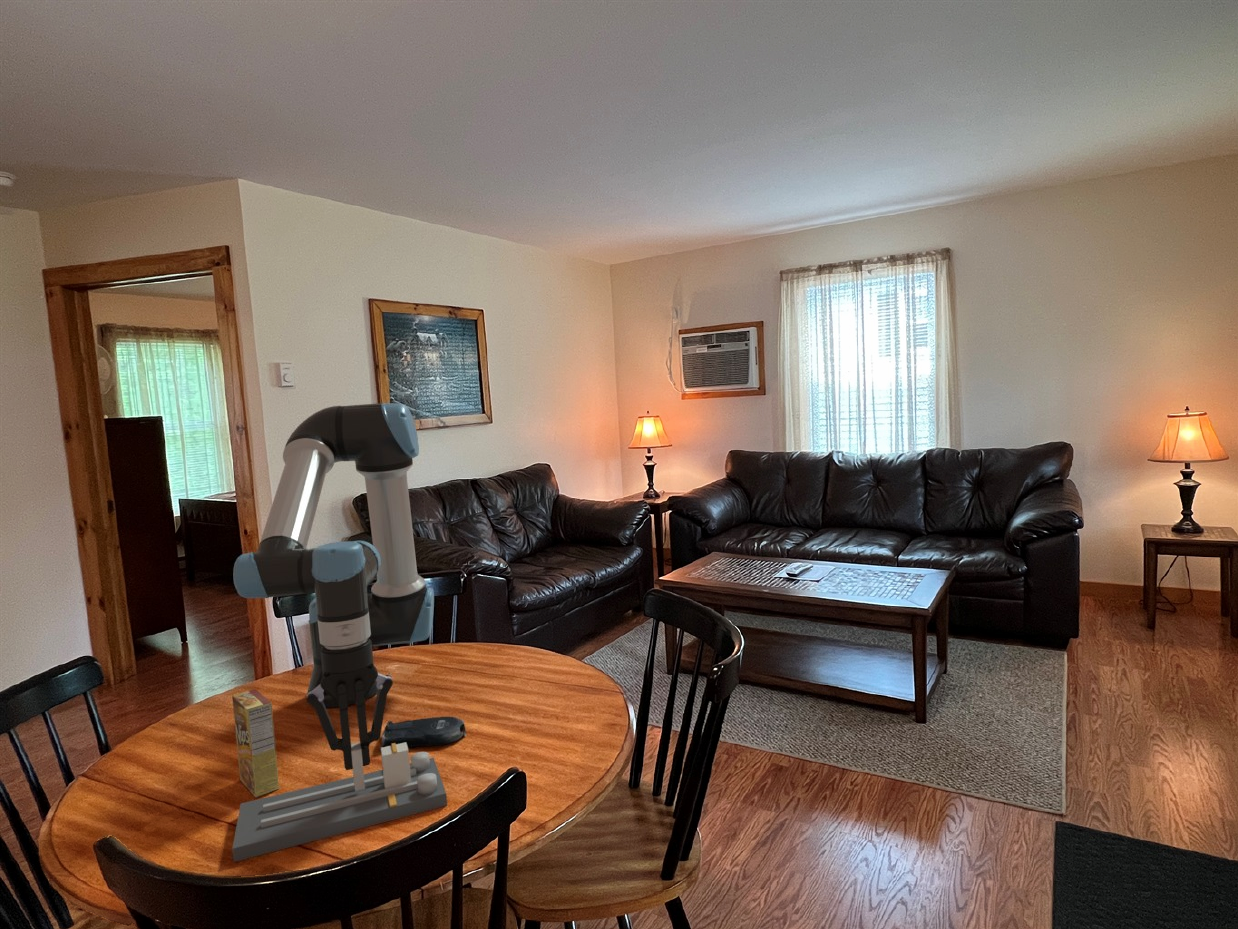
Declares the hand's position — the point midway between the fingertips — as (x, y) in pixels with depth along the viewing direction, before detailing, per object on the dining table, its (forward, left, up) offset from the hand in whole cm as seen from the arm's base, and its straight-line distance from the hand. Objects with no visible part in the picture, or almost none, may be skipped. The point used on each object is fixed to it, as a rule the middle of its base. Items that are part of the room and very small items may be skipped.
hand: (359, 785), depth 115 cm
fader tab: (0, +6, -1) cm, 6 cm away
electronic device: (-19, +13, -4) cm, 24 cm away
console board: (0, -3, -3) cm, 4 cm away
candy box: (-16, -16, -4) cm, 23 cm away
